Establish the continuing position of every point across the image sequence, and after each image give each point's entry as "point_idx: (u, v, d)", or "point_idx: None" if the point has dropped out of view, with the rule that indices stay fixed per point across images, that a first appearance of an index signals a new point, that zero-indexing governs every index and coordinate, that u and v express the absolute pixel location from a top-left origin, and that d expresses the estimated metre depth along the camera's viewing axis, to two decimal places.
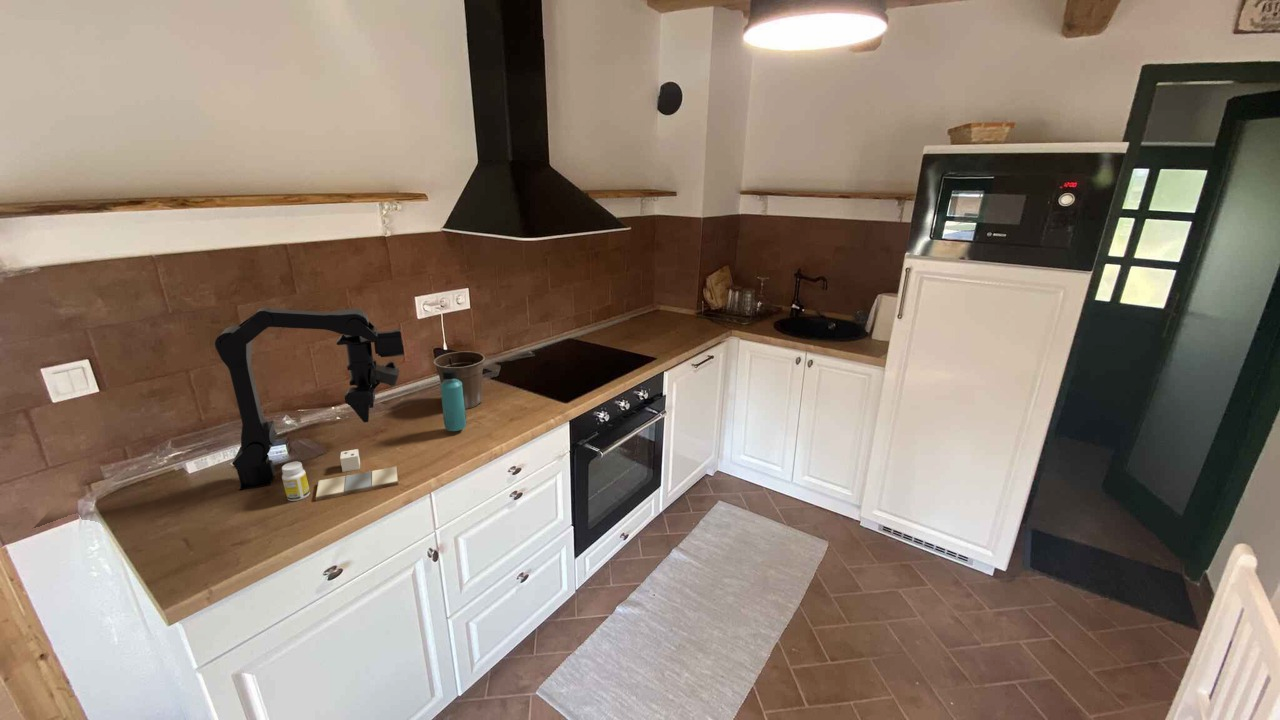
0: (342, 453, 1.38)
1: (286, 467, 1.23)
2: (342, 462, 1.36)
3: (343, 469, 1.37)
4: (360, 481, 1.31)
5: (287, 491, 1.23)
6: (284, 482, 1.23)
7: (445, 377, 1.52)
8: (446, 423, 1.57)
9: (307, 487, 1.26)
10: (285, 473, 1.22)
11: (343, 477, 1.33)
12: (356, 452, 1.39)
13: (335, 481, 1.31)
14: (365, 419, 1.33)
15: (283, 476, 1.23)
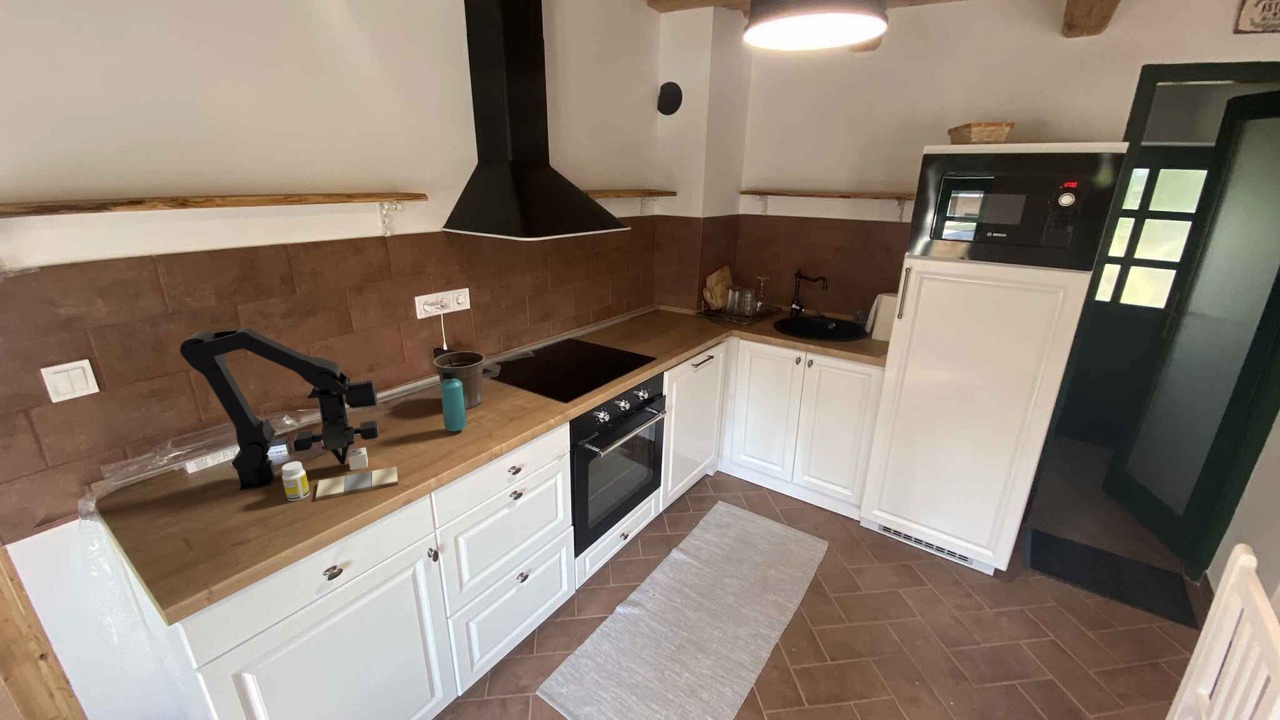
0: (350, 451, 1.39)
1: (286, 467, 1.23)
2: (350, 460, 1.37)
3: (351, 467, 1.38)
4: (360, 481, 1.31)
5: (287, 491, 1.23)
6: (284, 482, 1.23)
7: (445, 377, 1.52)
8: (446, 423, 1.57)
9: (307, 487, 1.26)
10: (285, 473, 1.22)
11: (343, 477, 1.33)
12: (364, 450, 1.40)
13: (335, 481, 1.31)
14: None
15: (283, 476, 1.23)
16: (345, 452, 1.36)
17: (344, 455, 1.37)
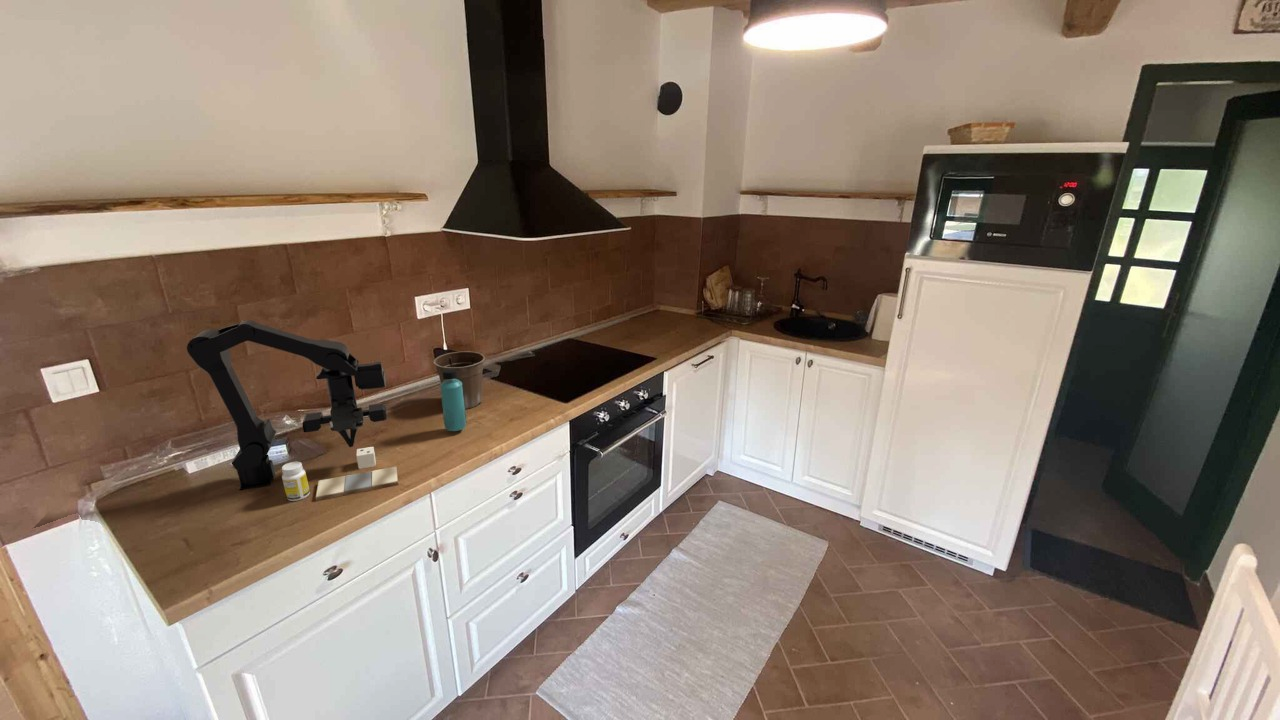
0: (358, 450, 1.40)
1: (286, 467, 1.23)
2: (358, 459, 1.38)
3: (359, 466, 1.38)
4: (360, 481, 1.31)
5: (287, 491, 1.23)
6: (284, 482, 1.23)
7: (445, 377, 1.52)
8: (446, 423, 1.57)
9: (307, 487, 1.26)
10: (285, 473, 1.22)
11: (343, 477, 1.33)
12: (372, 449, 1.41)
13: (335, 481, 1.31)
14: None
15: (283, 476, 1.23)
16: (354, 434, 1.36)
17: (353, 437, 1.36)
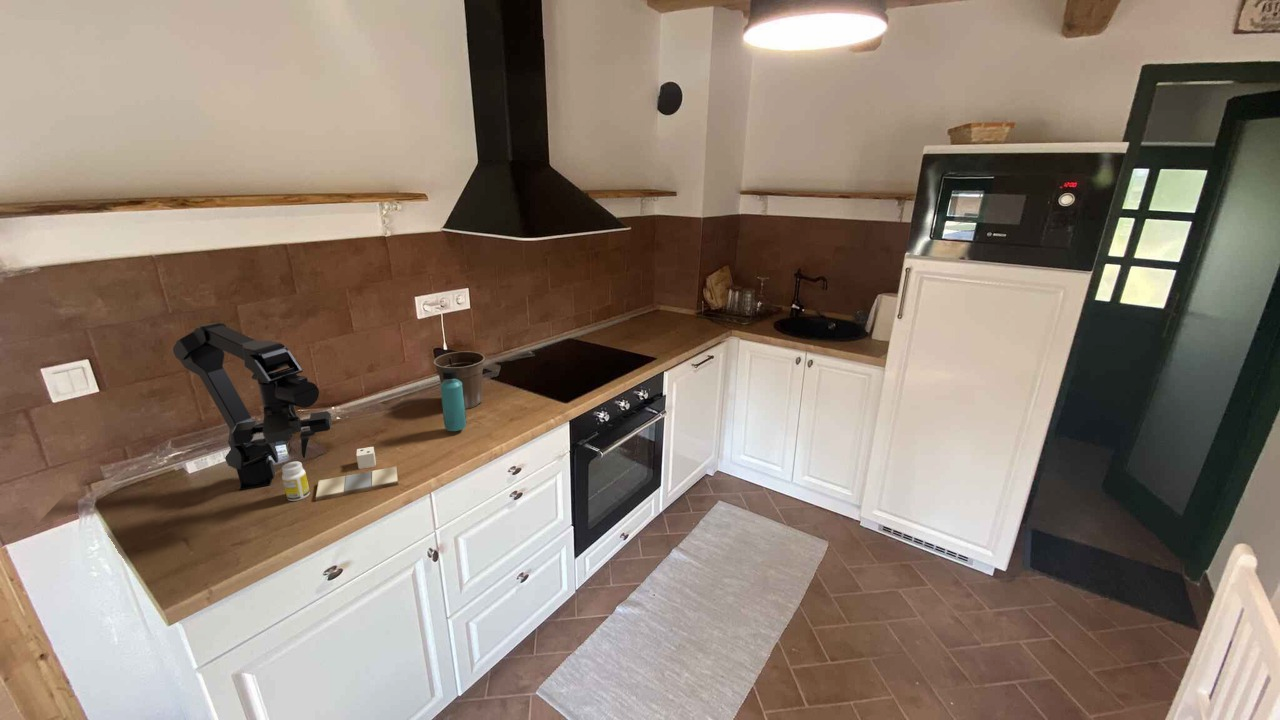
0: (358, 450, 1.40)
1: (286, 467, 1.23)
2: (358, 459, 1.38)
3: (359, 466, 1.38)
4: (360, 481, 1.31)
5: (287, 491, 1.23)
6: (284, 482, 1.23)
7: (445, 377, 1.52)
8: (446, 423, 1.57)
9: (307, 487, 1.26)
10: (285, 473, 1.22)
11: (343, 477, 1.33)
12: (372, 449, 1.41)
13: (335, 481, 1.31)
14: None
15: (283, 476, 1.23)
16: (305, 444, 1.22)
17: (304, 447, 1.23)
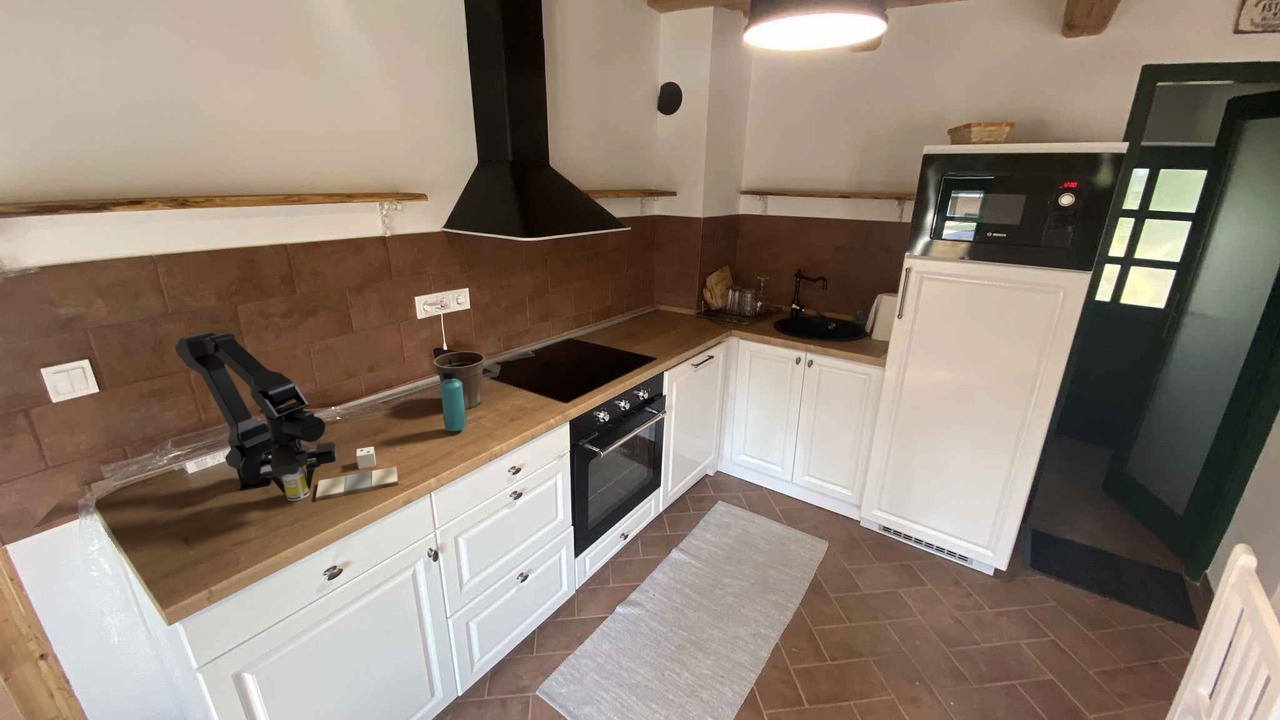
0: (358, 450, 1.40)
1: None
2: (358, 459, 1.38)
3: (359, 466, 1.38)
4: (360, 481, 1.31)
5: (287, 491, 1.23)
6: (284, 482, 1.23)
7: (445, 377, 1.52)
8: (446, 423, 1.57)
9: (307, 487, 1.26)
10: None
11: (343, 477, 1.33)
12: (372, 449, 1.41)
13: (335, 481, 1.31)
14: None
15: (283, 476, 1.23)
16: (311, 475, 1.25)
17: (310, 478, 1.25)
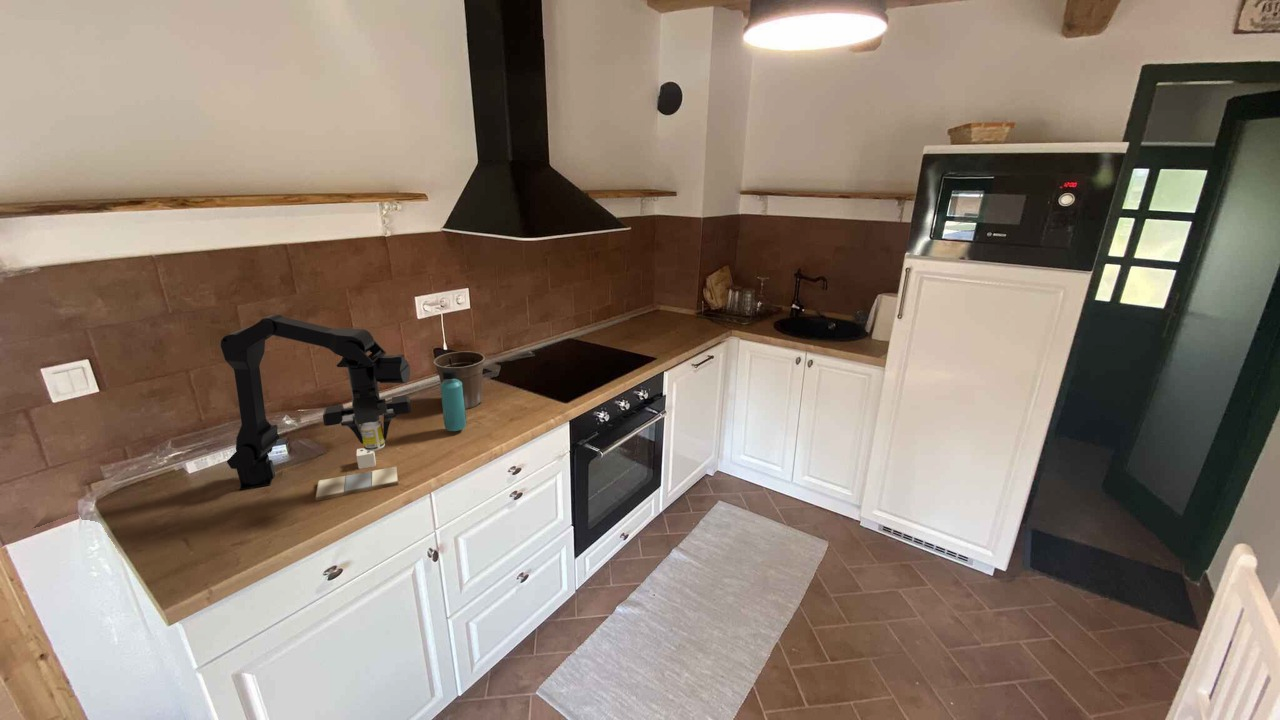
0: (358, 450, 1.40)
1: None
2: (358, 459, 1.38)
3: (359, 466, 1.38)
4: (360, 481, 1.31)
5: (365, 441, 1.27)
6: (362, 432, 1.27)
7: (445, 377, 1.52)
8: (446, 423, 1.57)
9: (383, 438, 1.30)
10: (364, 424, 1.26)
11: (343, 477, 1.33)
12: None
13: (335, 481, 1.31)
14: None
15: (361, 426, 1.27)
16: (387, 426, 1.29)
17: (386, 429, 1.29)
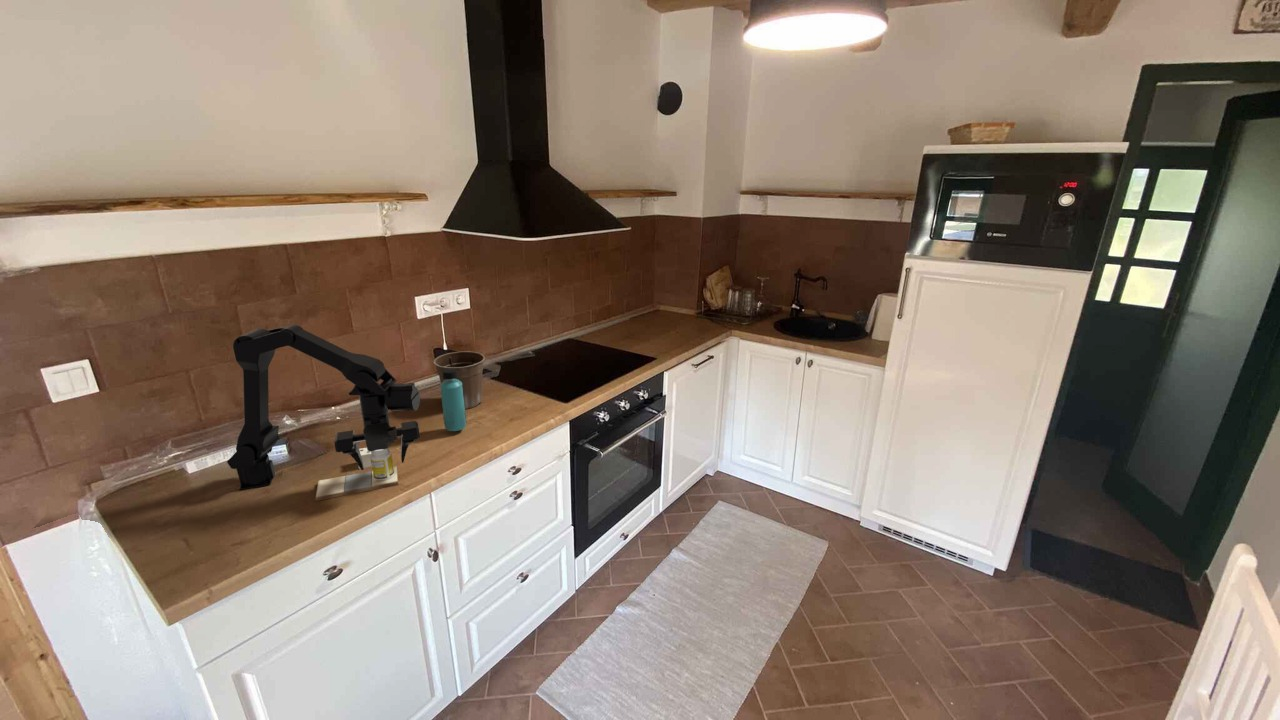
0: None
1: None
2: None
3: None
4: (360, 481, 1.31)
5: (375, 471, 1.31)
6: (373, 462, 1.30)
7: (445, 377, 1.52)
8: (446, 423, 1.57)
9: (392, 467, 1.33)
10: (374, 454, 1.30)
11: (343, 477, 1.33)
12: None
13: (335, 481, 1.31)
14: None
15: (372, 457, 1.30)
16: (405, 450, 1.33)
17: (404, 453, 1.33)
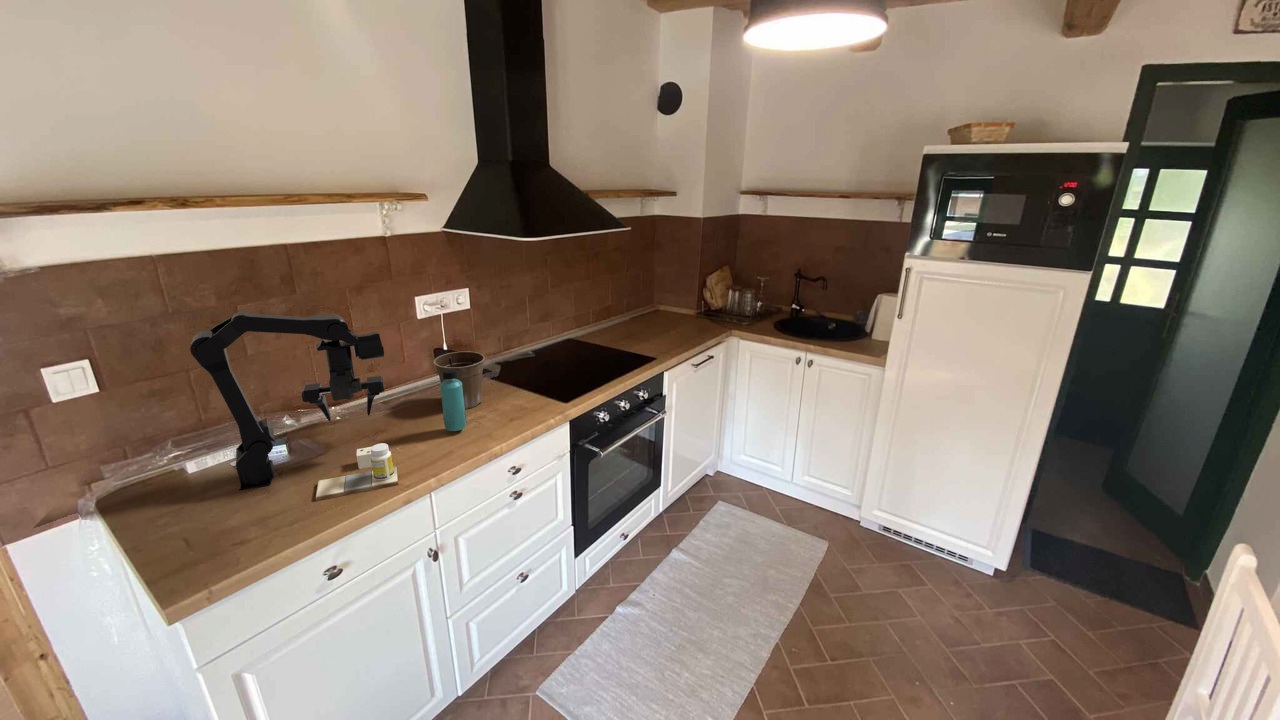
0: (358, 450, 1.40)
1: (374, 448, 1.30)
2: (358, 459, 1.38)
3: (359, 466, 1.38)
4: (360, 481, 1.31)
5: (375, 471, 1.31)
6: (373, 462, 1.30)
7: (445, 377, 1.52)
8: (446, 423, 1.57)
9: (392, 468, 1.33)
10: (374, 454, 1.30)
11: (343, 477, 1.33)
12: None
13: (335, 481, 1.31)
14: None
15: (372, 457, 1.30)
16: (370, 403, 1.40)
17: (369, 406, 1.40)
